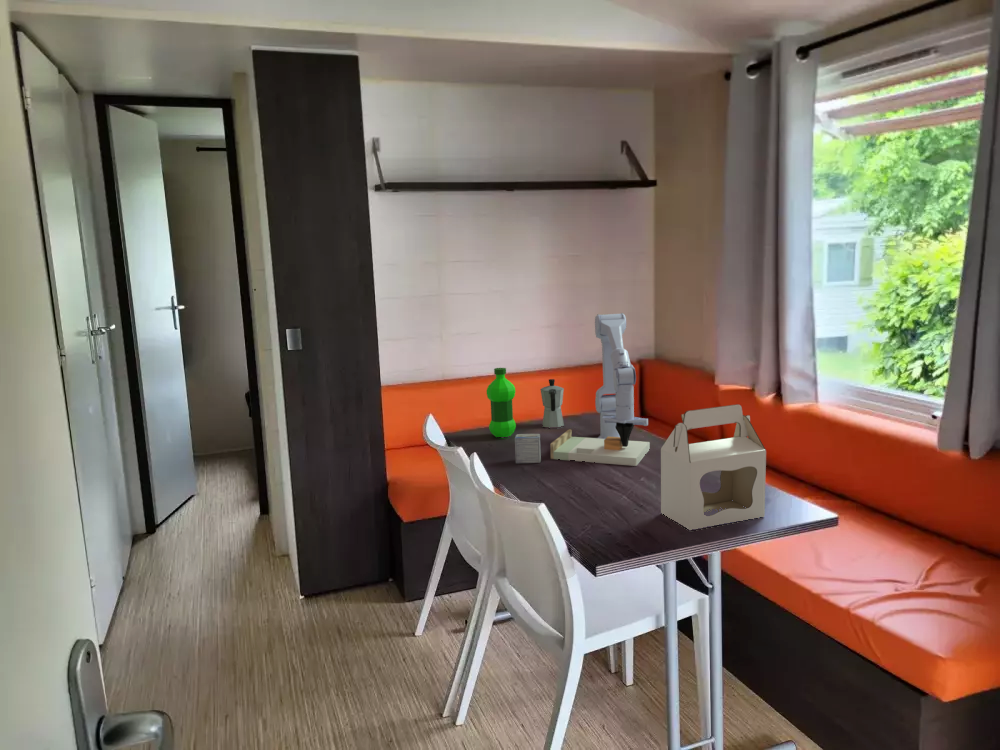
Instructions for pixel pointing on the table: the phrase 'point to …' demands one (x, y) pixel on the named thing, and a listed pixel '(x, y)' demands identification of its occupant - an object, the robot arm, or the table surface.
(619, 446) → the block
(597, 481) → the table surface
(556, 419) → the coffee maker
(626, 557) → the table surface
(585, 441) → the deck
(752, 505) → the gable box
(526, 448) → the medicine box
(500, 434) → the plastic bottle
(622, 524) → the table surface
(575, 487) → the table surface
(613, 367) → the robot arm
